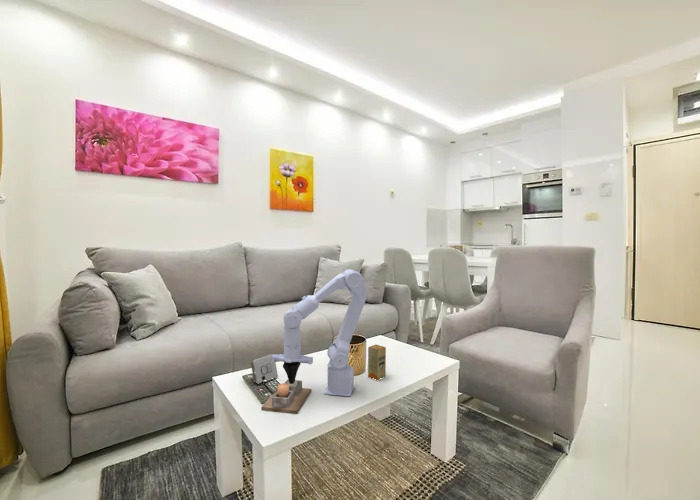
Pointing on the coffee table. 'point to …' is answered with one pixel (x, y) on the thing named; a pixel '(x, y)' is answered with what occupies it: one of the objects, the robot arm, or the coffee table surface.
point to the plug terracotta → (283, 390)
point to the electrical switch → (264, 369)
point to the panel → (288, 400)
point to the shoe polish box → (376, 362)
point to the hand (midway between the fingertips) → (292, 382)
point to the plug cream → (292, 384)
